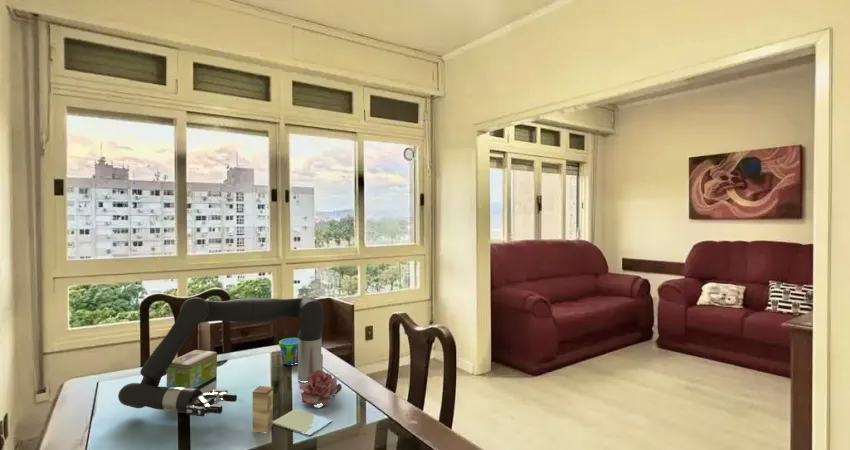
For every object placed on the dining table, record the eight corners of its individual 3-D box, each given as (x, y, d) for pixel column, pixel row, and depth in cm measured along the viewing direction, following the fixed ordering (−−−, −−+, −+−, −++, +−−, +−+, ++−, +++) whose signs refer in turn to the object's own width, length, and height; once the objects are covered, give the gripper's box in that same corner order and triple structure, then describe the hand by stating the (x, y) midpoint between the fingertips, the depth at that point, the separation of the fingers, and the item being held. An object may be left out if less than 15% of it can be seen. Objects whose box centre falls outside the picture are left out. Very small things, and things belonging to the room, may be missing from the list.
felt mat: (295, 410, 160) (295, 408, 160) (332, 421, 153) (332, 419, 153) (271, 423, 150) (271, 422, 150) (310, 436, 143) (310, 434, 143)
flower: (295, 386, 173) (300, 364, 170) (334, 386, 178) (339, 365, 176) (298, 414, 160) (303, 391, 157) (339, 413, 165) (345, 391, 162)
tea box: (190, 405, 161) (190, 364, 160) (165, 402, 163) (165, 362, 162) (217, 388, 176) (217, 350, 175) (194, 385, 178) (194, 348, 177)
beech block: (259, 425, 149) (259, 385, 148) (272, 426, 148) (272, 386, 148) (252, 432, 144) (252, 391, 144) (266, 433, 144) (266, 392, 143)
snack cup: (284, 357, 212) (284, 335, 212) (307, 357, 212) (307, 335, 212) (274, 369, 197) (274, 346, 196) (298, 370, 197) (299, 346, 196)
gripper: (167, 397, 142) (216, 402, 140) (195, 380, 156) (240, 383, 154) (167, 421, 142) (216, 426, 140) (195, 401, 156) (240, 405, 155)
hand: (229, 403), depth 147 cm, fingers open, 8 cm apart
